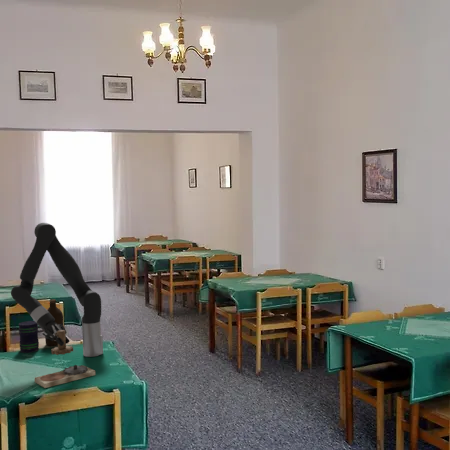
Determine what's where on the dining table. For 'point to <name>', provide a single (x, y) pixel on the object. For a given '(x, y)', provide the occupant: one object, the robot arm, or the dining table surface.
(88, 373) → the gear board
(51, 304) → the olive oil
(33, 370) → the dining table surface
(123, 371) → the dining table surface
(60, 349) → the walnut gear
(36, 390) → the dining table surface
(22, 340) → the storage jar
